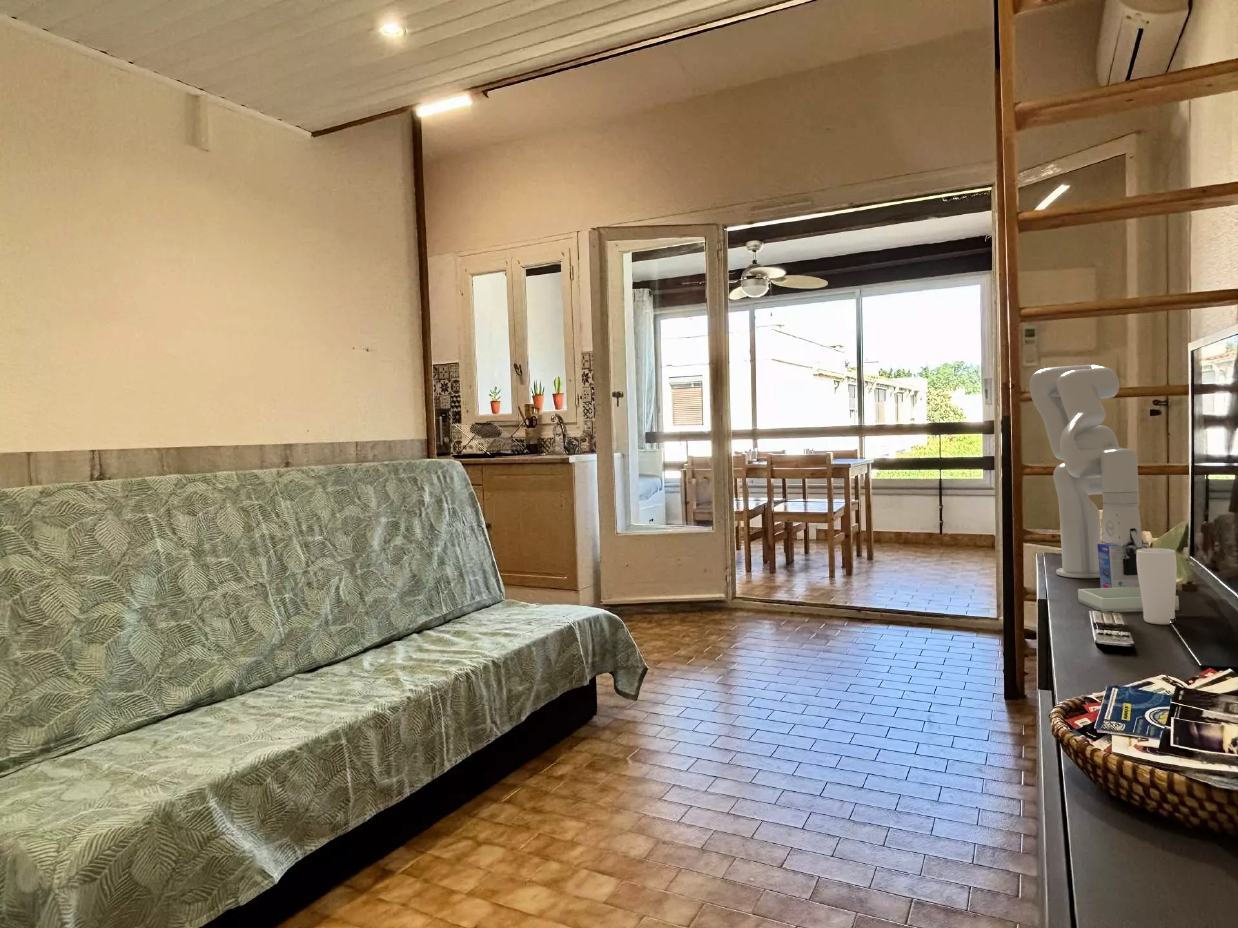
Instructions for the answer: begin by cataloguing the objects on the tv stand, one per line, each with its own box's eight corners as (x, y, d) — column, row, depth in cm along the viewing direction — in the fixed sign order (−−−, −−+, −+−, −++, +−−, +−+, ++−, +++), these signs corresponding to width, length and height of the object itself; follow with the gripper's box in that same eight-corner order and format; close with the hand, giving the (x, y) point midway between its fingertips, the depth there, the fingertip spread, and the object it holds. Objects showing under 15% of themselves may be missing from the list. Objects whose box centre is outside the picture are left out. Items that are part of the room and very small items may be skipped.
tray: (1078, 601, 181) (1077, 589, 181) (1149, 599, 179) (1149, 586, 179) (1102, 612, 170) (1101, 598, 170) (1179, 609, 168) (1178, 596, 168)
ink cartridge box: (1138, 589, 190) (1135, 531, 190) (1153, 593, 184) (1150, 533, 184) (1098, 591, 190) (1095, 533, 190) (1112, 596, 185) (1109, 536, 184)
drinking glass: (1167, 627, 154) (1163, 553, 154) (1132, 621, 160) (1128, 550, 160) (1186, 622, 157) (1183, 549, 157) (1152, 616, 163) (1148, 547, 163)
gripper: (1087, 497, 196) (1091, 567, 196) (1122, 502, 179) (1126, 579, 179) (1119, 495, 195) (1122, 566, 195) (1157, 501, 178) (1161, 578, 178)
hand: (1124, 572), depth 187 cm, fingers closed on ink cartridge box, 5 cm apart
